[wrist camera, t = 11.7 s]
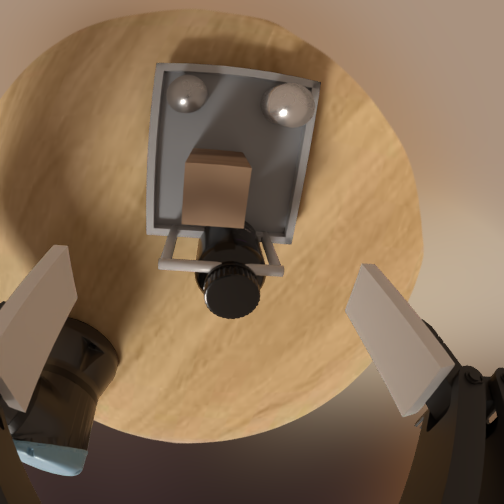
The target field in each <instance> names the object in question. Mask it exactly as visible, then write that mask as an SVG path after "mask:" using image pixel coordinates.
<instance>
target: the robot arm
mask: <svg viewBox="0 0 504 504" xmlns="http://www.w3.org/2000/svg"><path fill="white" fill-rule="evenodd" d="M77 299H78V297H77V292H76V287H75V283H74V278H73V272H72V267H71V261H70V256H69V249H68V246H65V245H53V246H52V247H51V248H50V249H49V251H48V252H47V253H46V254H45V255H44V256H43V257H42V258H41V260H40V261H39V262H38V263H37V264H36V265H35V267H34V268H33V269H32V270H31V271H30V272H29V274H28V275H27V276H26V277H25V278H24V280H23V281H22V282H21V283H20V285H19V286H18V287H17V288H16V290H15V291H14V292H13V294H12V295H11V296H10V298H9V299H8V300H7V301H6V302H5V301H3V302H2V303H0V504H42V503H41V501H40V499H39V497H38V496H37V494H36V492H35V490H34V488H33V486H32V484H31V482H30V480H29V478H28V475H27V473H26V471H25V469H24V467H23V465H22V462H24V463H26V464H29V465H31V466H33V467H36V468H39V469H41V470H44V471H47V472H51V473H55V474H59V475H65V476H75V475H78V474H79V473H80V472H81V471H82V469H83V466H84V462H85V459H86V455H87V454H88V451H87V448H88V443H89V438H90V433H91V429H92V423H93V419H94V415H95V411H96V406H97V402H98V399H99V397H100V396H101V395H102V393H103V392H104V391H105V389H106V388H107V387H108V385H109V384H110V383H111V381H112V380H113V378H114V377H115V374H116V370H117V366H118V357H117V354H116V352H115V350H114V348H113V346H112V345H111V344H110V342H109V341H108V340H107V339H106V338H105V337H104V336H103V335H102V334H101V333H99V332H98V331H97V330H95V329H94V328H92V327H91V326H89V325H87V324H85V323H83V322H81V321H78V320H75V319H71V318H67V317H68V315H69V313H70V311H71V310H72V308H73V306H74V304H75V302H76V300H77ZM345 312H346V314H347V315H348V317H349V319H350V321H351V322H352V324H353V326H354V328H355V329H356V331H357V333H358V335H359V336H360V338H361V340H362V342H363V344H364V345H365V347H366V349H367V351H368V353H369V354H370V356H371V358H372V360H373V362H374V363H375V365H376V367H377V369H378V371H379V373H380V375H381V377H382V378H383V380H384V382H385V384H386V386H387V388H388V390H389V392H390V394H391V395H392V398H393V399H394V401H395V403H396V405H397V407H398V409H399V411H400V413H401V415H402V417H405V416H408V415H412V414H415V413H417V412H418V411H419V410H420V409H421V408H422V407H423V405H424V404H425V403H426V405H427V407H428V410H427V411H426V412H425V413H424V414H423V415H422V416H421V418H420V419H419V420H418V421H417V422H416V424H415V426H416V427H417V426H418V425H419V424H420V423H421V422H422V421H423V423H422V426H421V427H420V428H421V432H420V436H419V441H418V444H417V449H416V452H415V456H414V460H413V463H412V466H411V470H410V473H409V476H408V479H407V482H406V486H405V488H404V491H403V494H402V497H401V500H400V502H399V504H504V368H498V369H497V370H496V371H495V373H494V374H493V375H492V376H491V377H483V376H482V374H481V373H480V372H479V371H478V370H477V369H475V368H474V367H472V366H463V367H462V366H461V364H460V363H459V362H458V361H457V359H456V358H455V357H454V355H453V354H452V352H451V351H450V350H449V348H448V347H447V346H446V344H445V343H443V340H442V339H441V338H440V337H438V334H437V333H436V331H435V330H434V329H433V328H432V326H430V325H429V324H428V323H426V322H425V321H424V320H423V319H421V318H420V317H419V316H418V315H417V314H416V312H415V311H414V310H413V308H412V307H411V306H410V305H409V304H408V302H407V301H406V300H405V299H404V298H403V296H402V295H401V294H400V293H399V292H398V290H397V289H396V288H395V287H394V286H393V285H392V283H391V282H390V281H389V280H388V279H387V278H386V276H385V275H384V274H383V273H382V272H381V271H380V270H379V268H378V267H377V266H376V265H375V264H361V267H360V270H359V273H358V276H357V279H356V282H355V284H354V287H353V290H352V293H351V296H350V298H349V301H348V304H347V306H346V309H345ZM495 411H496V413H497V418H496V419H495V420H494V421H493V422H492V423H489V418H490V417H491V415H492V414H493V413H494V412H495ZM21 461H22V462H21Z"/></svg>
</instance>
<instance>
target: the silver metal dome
mask: <svg viewBox="0 0 504 504" xmlns="http://www.w3.org/2000/svg"><path fill="white" fill-rule="evenodd" d="M166 97H167V101H168V104H169V105H170V107H171V108H172V109H174V110H175V111H177V112H180V113H192V112H195V111H198V110H199V109H201V108H202V107H203V106H204V105H205V103H206V101H207V98H208V91H207V88H206V86H205V84H204V82H203V81H202V80H201V79H199V78H198V77H196V76H193V75H183V76H180V77H178V78H176V79H175V80H173V81H172V82H171V84H170V85H169V87H168V89H167V93H166Z"/></svg>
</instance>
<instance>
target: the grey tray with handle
mask: <svg viewBox="0 0 504 504" xmlns="http://www.w3.org/2000/svg"><path fill="white" fill-rule="evenodd" d="M183 75H193V76H196V77H198V78H199V79H201V80H202V81H203V82H204V84H205V86H206V88H207V91H208V98H207V101H206V103H205V105H204V106H203V107H202V108H201V109H199V110H198V111H195V112H192V113H180V112H177V111H175V110H174V109H172V108H171V107H170V105H169V104H168V101H167V97H166V93H167V89H168V87H169V85H170V84H171V82H172V81H173V80H175V79H176V78H178V77H180V76H183ZM286 83H297V84H300V85H302V86H304V87H306V88H307V89H308V90H309V91H310V92H311V94H312V95H313V98H314V101H315V111H314V114H313V116H312V118H311V119H310V121H309V122H307V123H306V124H305V125H303V126H300V127H296V128H290V127H286V126H282V125H279V124H275V123H272V122H270V121H269V120H267V119H266V118H265V117H264V115H263V113H262V111H261V107H260V103H261V99H262V96H263V95H264V93H265V92H266V91H268V90H269V89H271V88H273V87H276V86H279V85H282V84H286ZM320 85H321V82H318V81H314V80H309V79H305V78H300V77H295V76H290V75H285V74H279V73H274V72H267V71H261V70H254V69H247V68H238V67H229V66H219V65H206V64H188V63H157V64H156V71H155V79H154V87H153V96H152V105H151V116H150V128H149V142H148V161H147V192H146V231H147V235H161V236H168V237H167V240H166V243H165V246H164V249H163V252H162V255H161V258H159V262H158V269H160V270H175V271H190V272H206V273H209V271H210V270H211V269H213V268H214V267H216V266H217V265H220V264H222V263H221V262H214V261H198V260H183V259H172V256H173V252H174V248H175V244H176V240H177V237H192V238H200V237H201V235H202V234H203V232H204V228H205V227H206V226H201V225H186V224H182V204H183V187H184V172H185V162H186V160H187V158H188V156H189V155H190V153H191V151H192V149H193V148H200V149H213V150H225V151H235V152H243V154H244V155H245V157H246V159H247V160H248V162H249V164H250V166H251V167H252V171H251V178H250V185H249V192H248V200H247V207H246V214H245V221H246V222H248V223H249V224H250V225H251V226H252V227H253V228H254V230H255V231H256V235H257V237H258V240H259V242H262V244H263V247H264V250H265V253H266V256H267V259H268V262H269V265H264V264H245V265H246V266H248V267H249V268H251V269H252V270H253V271H254V272H255V274H256V275H260V276H280V277H283V275H284V266H282V265H281V264H280V261H279V259H278V256H277V254H276V251H275V249H274V246H273V244H272V243H279V244H291V243H292V239H293V234H294V229H295V224H296V219H297V214H298V209H299V204H300V199H301V194H302V189H303V184H304V178H305V173H306V168H307V162H308V157H309V151H310V146H311V140H312V134H313V128H314V122H315V117H316V110H317V104H318V98H319V92H320Z"/></svg>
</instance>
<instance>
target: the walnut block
mask: <svg viewBox="0 0 504 504" xmlns="http://www.w3.org/2000/svg"><path fill="white" fill-rule="evenodd" d="M251 171H252V167H251V166H250V164H249V162H248V160H247V159H246V157H245V155H244V154H243V152H235V151H225V150H213V149H200V148H193V149H192V151H191V153H190V155H189V156H188V158H187V160H186V162H185V172H184V187H183V204H182V224H186V225H201V226H215V227H229V228H242V229H244V222H245V214H246V207H247V200H248V192H249V185H250V178H251Z"/></svg>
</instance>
